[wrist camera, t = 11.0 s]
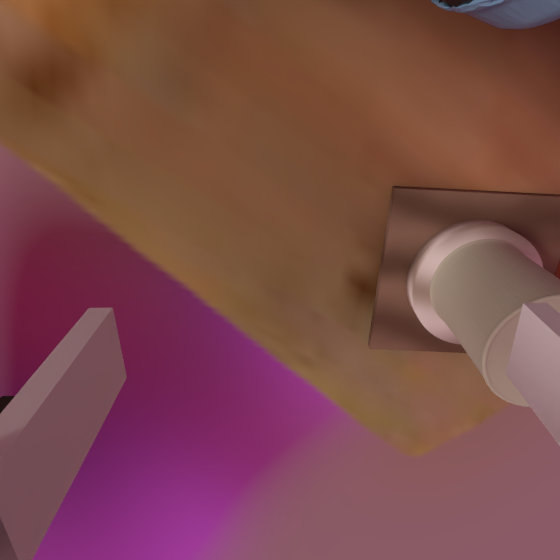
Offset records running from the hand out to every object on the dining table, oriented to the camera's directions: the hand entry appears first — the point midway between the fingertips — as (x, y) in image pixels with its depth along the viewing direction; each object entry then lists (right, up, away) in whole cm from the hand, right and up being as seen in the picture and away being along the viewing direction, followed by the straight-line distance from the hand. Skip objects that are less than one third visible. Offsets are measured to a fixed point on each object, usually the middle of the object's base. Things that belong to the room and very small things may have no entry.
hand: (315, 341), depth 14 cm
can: (+17, +2, +27) cm, 32 cm away
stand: (+17, +3, +30) cm, 34 cm away
